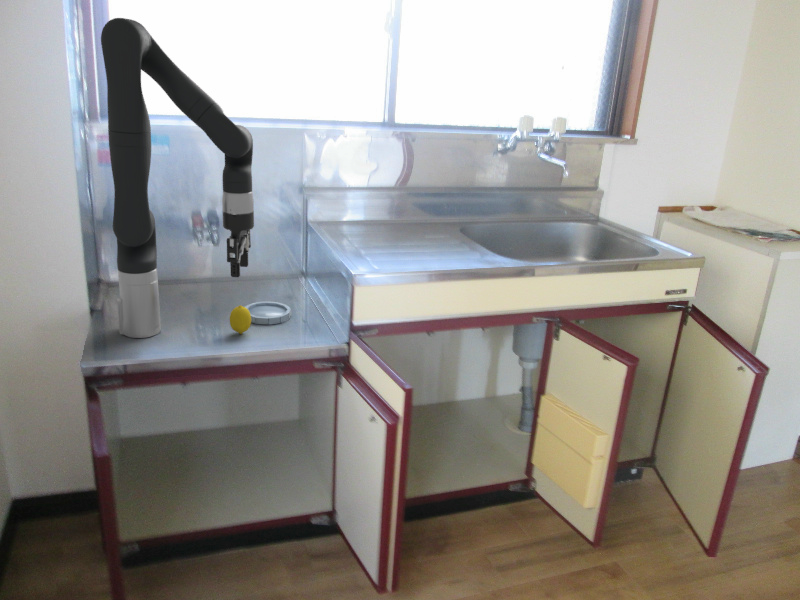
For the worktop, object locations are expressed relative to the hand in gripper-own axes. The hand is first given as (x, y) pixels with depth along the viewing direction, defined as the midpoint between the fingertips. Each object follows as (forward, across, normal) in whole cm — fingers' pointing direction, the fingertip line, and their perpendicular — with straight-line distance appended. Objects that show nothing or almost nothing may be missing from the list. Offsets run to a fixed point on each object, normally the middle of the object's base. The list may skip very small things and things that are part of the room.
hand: (239, 271), depth 170 cm
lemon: (+18, 0, 0) cm, 18 cm away
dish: (+17, -14, +4) cm, 23 cm away
